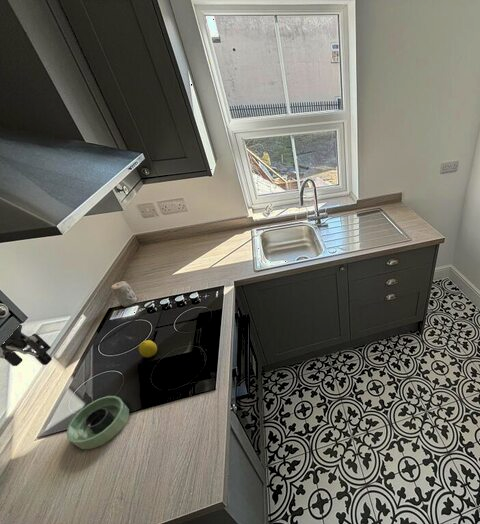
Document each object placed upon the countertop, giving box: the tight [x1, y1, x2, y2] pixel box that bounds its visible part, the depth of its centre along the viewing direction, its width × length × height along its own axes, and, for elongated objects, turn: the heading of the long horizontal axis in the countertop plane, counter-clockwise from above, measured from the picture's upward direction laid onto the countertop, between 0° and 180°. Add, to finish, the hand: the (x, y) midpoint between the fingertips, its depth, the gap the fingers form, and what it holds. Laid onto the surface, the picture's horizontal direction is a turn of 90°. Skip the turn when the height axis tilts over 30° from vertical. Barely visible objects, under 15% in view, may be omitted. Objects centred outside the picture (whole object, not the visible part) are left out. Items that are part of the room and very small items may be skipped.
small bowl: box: [83, 408, 114, 434], centre depth 91 cm, size 6×6×4 cm
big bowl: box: [66, 395, 130, 450], centre depth 91 cm, size 14×14×5 cm
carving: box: [110, 280, 137, 308], centre depth 138 cm, size 6×8×12 cm
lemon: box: [138, 339, 158, 358], centre depth 113 cm, size 6×6×8 cm
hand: (33, 362), depth 82 cm, fingers open, 8 cm apart
